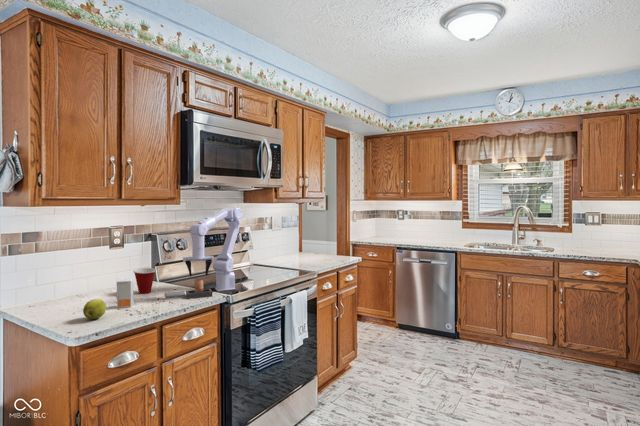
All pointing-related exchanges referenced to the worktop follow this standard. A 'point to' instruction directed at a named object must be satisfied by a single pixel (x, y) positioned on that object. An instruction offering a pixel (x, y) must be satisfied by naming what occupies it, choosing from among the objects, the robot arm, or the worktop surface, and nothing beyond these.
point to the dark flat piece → (199, 294)
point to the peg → (198, 285)
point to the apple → (94, 309)
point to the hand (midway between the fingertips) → (198, 275)
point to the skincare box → (125, 293)
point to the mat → (175, 294)
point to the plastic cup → (144, 279)
